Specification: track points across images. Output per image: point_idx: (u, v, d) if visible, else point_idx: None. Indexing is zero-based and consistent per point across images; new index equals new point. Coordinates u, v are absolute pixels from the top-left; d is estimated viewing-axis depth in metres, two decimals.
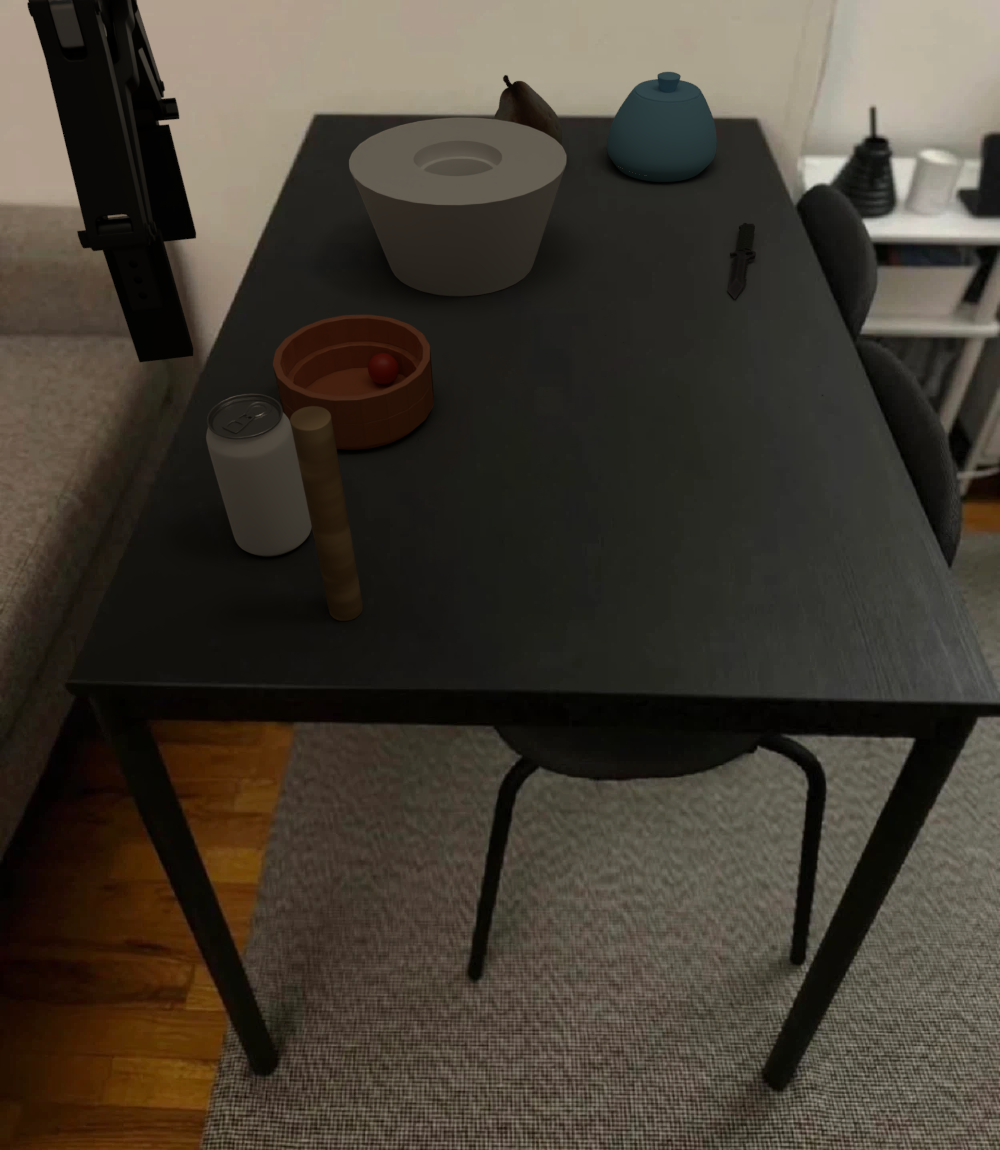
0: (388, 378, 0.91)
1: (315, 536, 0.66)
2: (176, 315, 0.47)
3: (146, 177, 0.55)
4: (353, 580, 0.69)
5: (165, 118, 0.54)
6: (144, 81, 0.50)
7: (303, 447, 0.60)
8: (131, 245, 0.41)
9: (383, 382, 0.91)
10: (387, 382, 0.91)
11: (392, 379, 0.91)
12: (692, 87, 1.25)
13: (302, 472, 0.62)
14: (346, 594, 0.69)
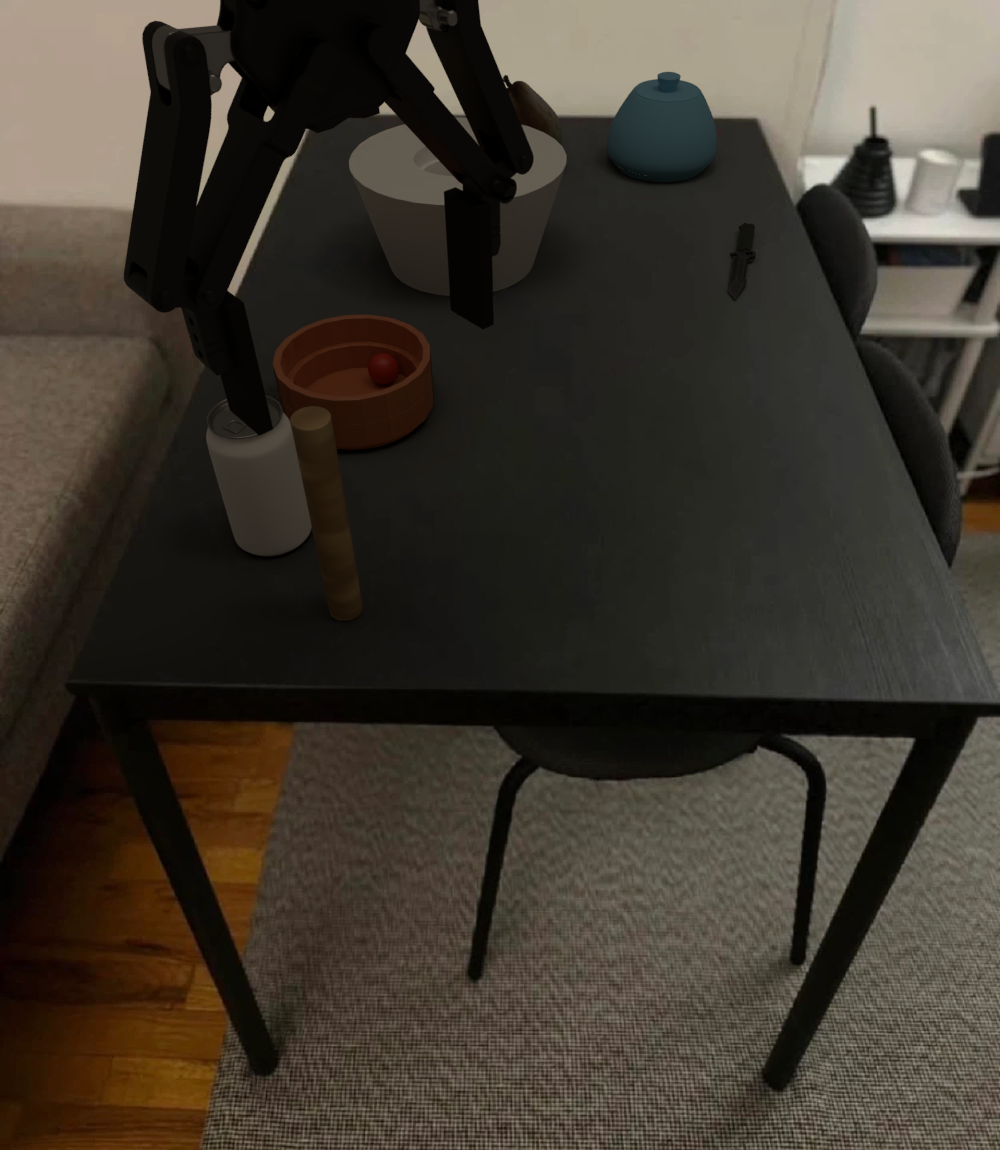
0: (388, 378, 0.91)
1: (315, 536, 0.66)
2: (245, 390, 0.42)
3: (456, 246, 0.48)
4: (353, 580, 0.69)
5: (491, 196, 0.45)
6: (446, 150, 0.42)
7: (303, 447, 0.60)
8: (149, 303, 0.37)
9: (383, 382, 0.91)
10: (387, 382, 0.91)
11: (392, 379, 0.91)
12: (692, 87, 1.25)
13: (302, 472, 0.62)
14: (346, 594, 0.69)
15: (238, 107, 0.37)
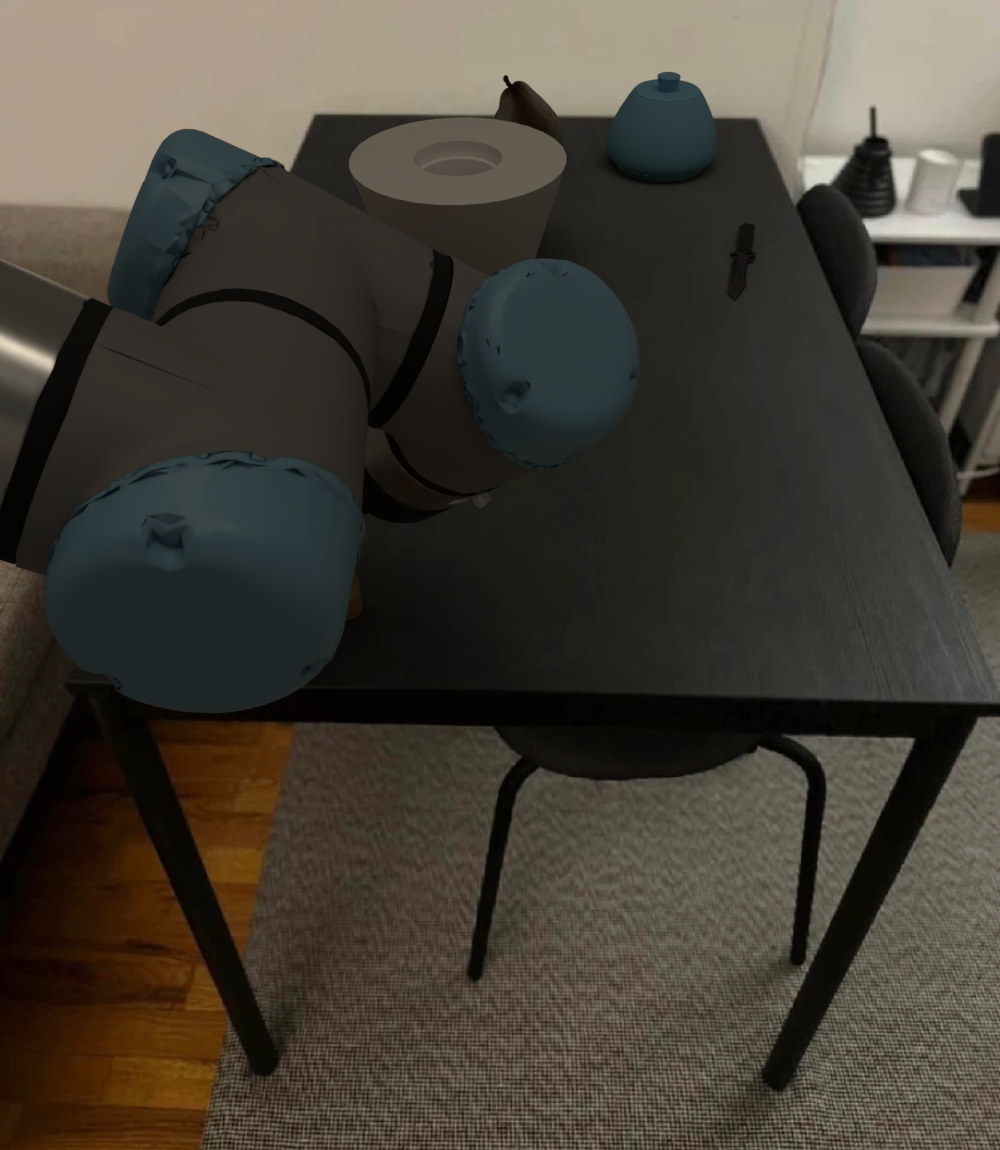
0: None
1: None
2: None
3: None
4: (353, 580, 0.69)
5: None
6: None
7: None
8: None
9: None
10: None
11: None
12: (692, 87, 1.25)
13: None
14: None
15: None
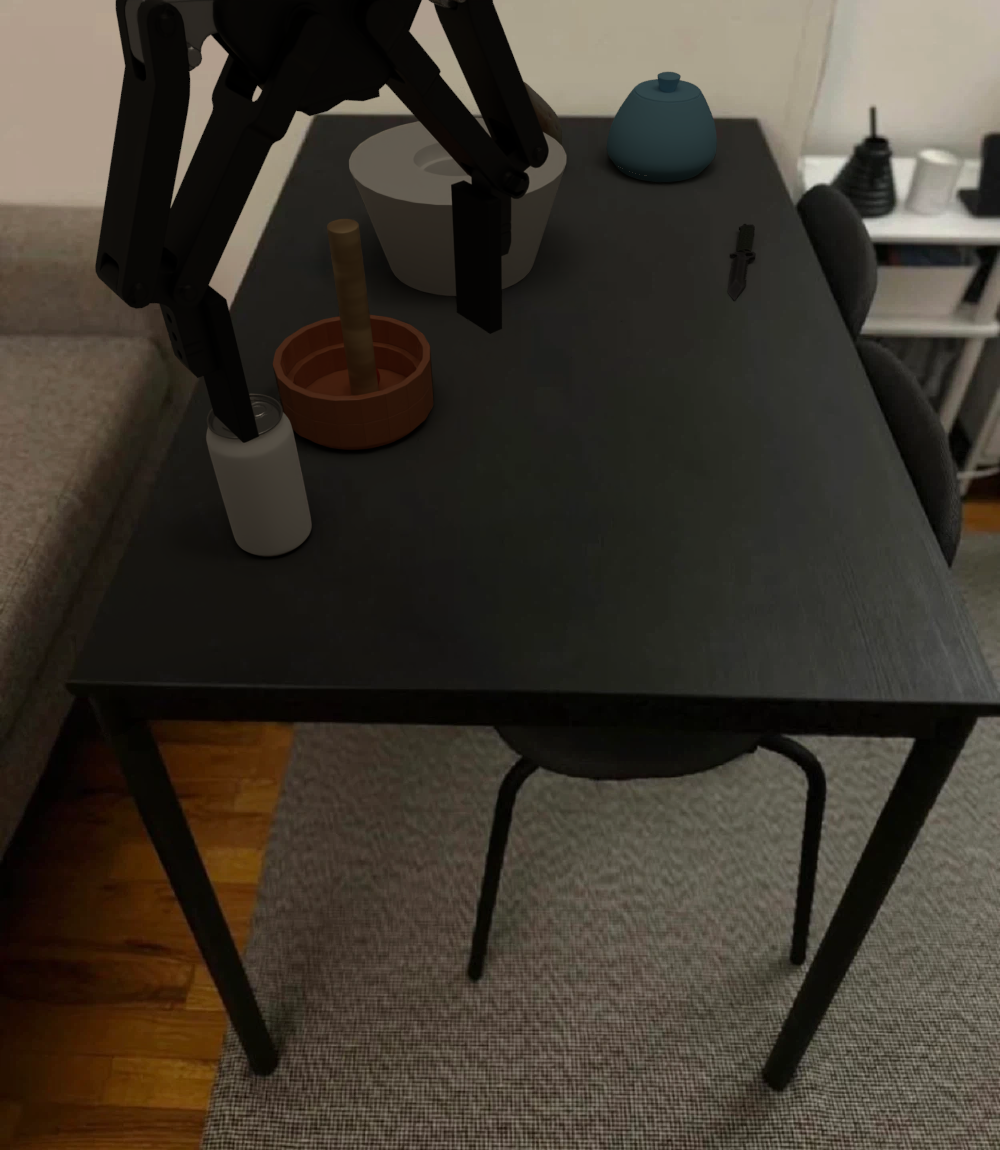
0: None
1: (343, 332, 0.83)
2: (228, 394, 0.38)
3: (463, 244, 0.44)
4: (372, 378, 0.86)
5: (501, 191, 0.42)
6: (453, 140, 0.39)
7: (334, 248, 0.77)
8: None
9: None
10: None
11: None
12: (692, 87, 1.25)
13: (334, 272, 0.79)
14: (365, 390, 0.87)
15: (224, 86, 0.34)
